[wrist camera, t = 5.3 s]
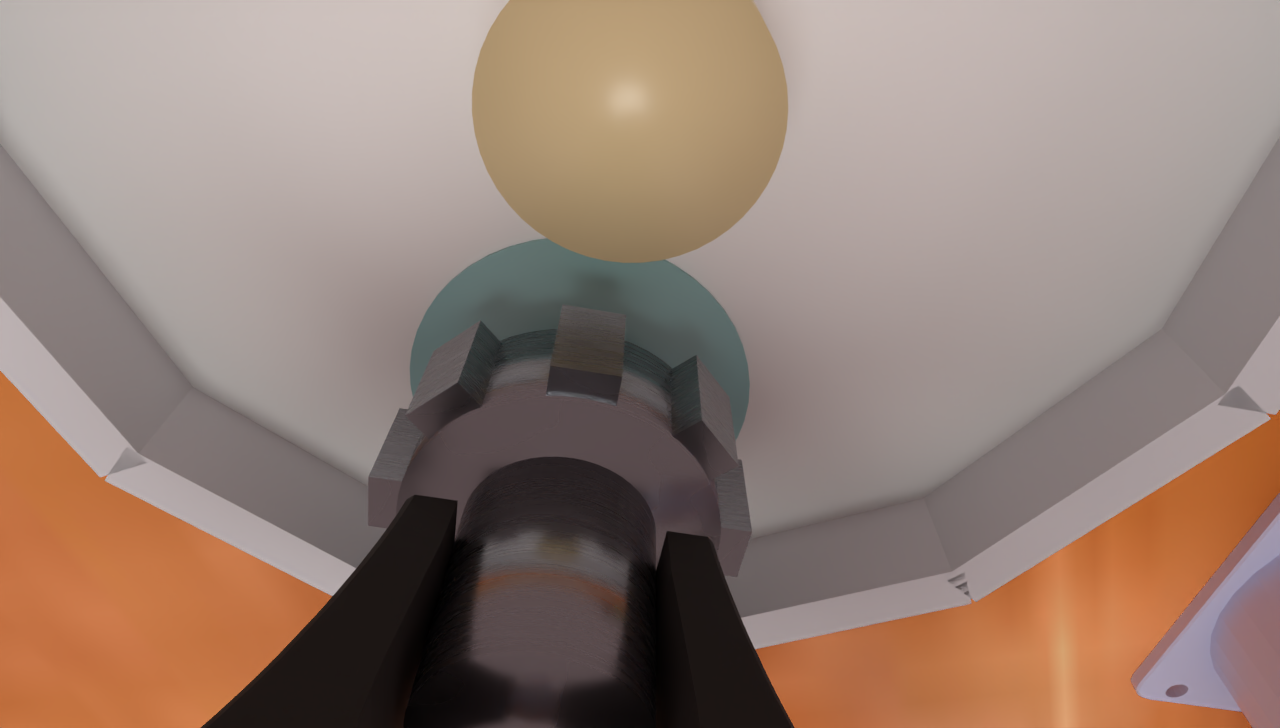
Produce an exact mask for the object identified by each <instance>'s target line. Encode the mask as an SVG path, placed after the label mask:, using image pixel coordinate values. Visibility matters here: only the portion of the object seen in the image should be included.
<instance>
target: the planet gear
mask: <svg viewBox="0 0 1280 728" xmlns="http://www.w3.org/2000/svg"><path fill="white" fill-rule="evenodd" d="M625 324H626V315H625V314H619V313H612V312H606V311H600V310H594V309H588V308H582V307H576V306H569V305H562V310H561V315H560V319H559V324H558V329H548V330H540V331H533V332H527V333H523V334H519V335H515V336H511V337H508V338H506V339H503V340H501V341H499V340H498V339H497V338H496V336H495V335H494V334H493V333H492V332H491V331H490V330H489V329H488V328H487V327H486V325H485V324H484V323H483V322H482V321H481V320H480V321H479V322H477V323H476V324H474V325H472V326H471V327H469V328H468V329H466V330H465V331H463V332H462V333H460V334H459V335H457V336H456V337H454V338H453V339H451V340H450V341H448V342H447V343H445V344H443V345H442V346H440V347H439V348H437V349H436V350H434V351H433V353H432V356H431V358H430V360H429V362H428V365H427V367H426V369H425V371H424V374H423V376H422V378H421V381H420V383H419V385H418V387H417V390H416V392H415V394H414V396H413V399H412V401H411V403H410V405H409V408H408V409H402V408H399V411H398V413H397V415H396V417H395V419H394V422H393V424H392V426H391V428H390V430H389V433H388V435H387V437H386V439H385V441H384V443H383V446H382V448H381V450H380V452H379V454H378V457H377V459H376V461H375V463H374V465H373V468H372V470H371V472H370V474H369V476H368V526H373V527H380V528H388V526H389V525H390V524H391V522H392V521H393V519H394V518H395V516H396V515H397V513H398V512H399V510H400V509H401V507H402V506H403V504H404V503H405V501H406V499H408V498H410V497H411V496H413V495H422V496H429V497H436V498H443V499H449V500H456V501H458V504H457V517H456V530H455V543H454V546H453V550H452V553H451V557H450V560H449V564H448V567H447V571H446V574H445V577H444V581H443V584H442V588H441V591H440V595H439V598H438V601H437V604H436V608H435V611H434V614H433V618H432V621H431V625H430V628H429V631H428V635H427V638H426V642H425V645H424V649H423V652H422V656H421V659H420V663H419V666H418V670H417V673H416V676H415V680H414V683H413V687H412V690H411V694H410V697H409V701H408V704H407V708H406V711H405V715H404V722H403V727H404V728H656V569H657V566H658V562H659V558H660V554H661V551H662V547H663V543H664V540H665V536H666V532H667V531H671V532H678V533H685V534H692V535H699V536H706V537H709V539H710V540H711V541H712V542H713V544H714V547H715V550H716V553H717V556H718V559H719V562H720V565H721V568H722V571H723V573H724V575H725V576H732V577H737V576H738V573H739V570H740V567H741V564H742V561H743V558H744V555H745V552H746V549H747V546H748V543H749V540H750V537H751V534H752V528H751V521H750V514H749V507H748V500H747V493H746V486H745V479H744V472H743V465H742V460H740V459H738V457H737V450H736V442H735V435H734V428H733V420H732V413H731V406H730V398H729V396H728V395H727V394H726V392H725V391H724V390H723V388H722V387H721V386H720V385H719V383H718V382H717V381H716V379H715V378H714V377H713V375H712V374H711V373H710V372H709V370H708V369H707V368H706V366H705V365H704V364H703V362H702V361H701V360H700V359H699V357H698V356H697V355H695V356H693V357H692V358H690V359H688V360H686V361H685V362H683V363H681V364H679V365H678V366H676V367H674V368H671V367H670V366H669V365H668V364H667V363H665V362H664V361H663V360H661V359H660V358H658V357H657V356H655V355H653V354H652V353H650V352H649V351H647V350H645V349H643V348H641V347H639V346H637V345H635V344H633V343H631V342H628V341H625Z"/></svg>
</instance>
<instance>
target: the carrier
mask: <svg viewBox="0 0 1280 728" xmlns="http://www.w3.org/2000/svg"><path fill="white" fill-rule="evenodd" d="M562 305H569V306H576V307H582V308H588V309H594V310H600V311H606V312H612V313H619V314H625V315H626V324H625V341H628V342H631V343H633V344H635V345H637V346H639V347H641V348H643V349H645V350H647V351H649V352H650V353H652V354H653V355H655V356H657V357H658V358H660V359H661V360H663V361H664V362H665V363H667V364H668V365H669V366H670V367H671V368H674V367H676V366H678V365H679V364H681V363H683V362H685V361H686V360H688V359H690V358H692V357H693V356H695V355H697V356H698V357H699V359H700V360H701V361H702V362H703V364H704V365H705V366H706V368H707V369H708V370H709V372H710V373H711V374H712V375H713V377H714V378H715V379H716V381H717V382H718V383H719V385H720V386H721V387H722V388H723V390H724V391H725V392H726V394H727V395H728V396H729V398H730V406H731V413H732V420H733V428H734V435H735V442H736V450H737V457H738V459H740V460H742V465H743V472H744V479H745V486H746V493H747V500H748V507H749V514H750V521H751V528H752V534H751V537H750V540H749V543H748V546H747V549H746V552H745V555H744V558H743V561H742V564H741V567H740V570H739V573H738V576H737V577H732V576H725V575H724V576H725V579H726V582H727V584H728V587H729V589H730V592H731V595H732V597H733V600H734V602H735V604H736V607H737V609H738V612H739V614H740V617H741V619H742V621H743V624H744V626H745V628H746V631H747V633H748V635H749V637H750V640H751V642H752V644H753V646H754V648H755V649H758V648H763V647H768V646H772V645H777V644H782V643H787V642H791V641H796V640H801V639H806V638H811V637H815V636H820V635H825V634H830V633H834V632H839V631H844V630H849V629H853V628H858V627H863V626H868V625H872V624H877V623H882V622H887V621H891V620H896V619H901V618H906V617H910V616H915V615H920V614H925V613H929V612H934V611H939V610H944V609H948V608H953V607H958V606H963V605H967V604H971V599H973V600H974V601H976V602H977V601H978V600H980V599H981V598H983V597H985V596H986V595H988V594H990V593H991V592H993V591H994V590H996V589H998V588H999V587H1001V586H1002V585H1004V584H1006V583H1007V582H1009V581H1010V580H1012V579H1014V578H1015V577H1017V576H1019V575H1020V574H1022V573H1023V572H1025V571H1027V570H1028V569H1030V568H1031V567H1033V566H1035V565H1036V564H1038V563H1039V562H1041V561H1043V560H1044V559H1046V558H1048V557H1049V556H1051V555H1052V554H1054V553H1056V552H1057V551H1059V550H1060V549H1062V548H1064V547H1065V546H1067V545H1068V544H1070V543H1072V542H1073V541H1075V540H1077V539H1078V538H1080V537H1081V536H1083V535H1085V534H1086V533H1088V532H1089V531H1091V530H1093V529H1094V528H1096V527H1097V526H1099V525H1101V524H1102V523H1104V522H1106V521H1107V520H1109V519H1110V518H1112V517H1114V516H1115V515H1117V514H1118V513H1120V512H1122V511H1123V510H1125V509H1126V508H1128V507H1130V506H1131V505H1133V504H1135V503H1136V502H1138V501H1139V500H1141V499H1143V498H1144V497H1146V496H1147V495H1149V494H1151V493H1152V492H1154V491H1155V490H1157V489H1159V488H1160V487H1162V486H1164V485H1165V484H1167V483H1168V482H1170V481H1172V480H1173V479H1175V478H1176V477H1178V476H1180V475H1181V474H1183V473H1184V472H1186V471H1188V470H1189V469H1191V468H1193V467H1194V466H1196V465H1197V464H1199V463H1201V462H1202V461H1204V460H1205V459H1207V458H1209V457H1210V456H1212V455H1214V454H1215V453H1217V452H1218V451H1220V450H1222V449H1223V448H1225V447H1226V446H1228V445H1230V444H1231V443H1233V442H1234V441H1236V440H1238V439H1239V438H1241V437H1243V436H1244V435H1246V434H1247V433H1249V432H1251V431H1252V430H1254V429H1255V428H1257V427H1259V426H1260V425H1262V424H1263V423H1265V422H1267V421H1268V420H1270V419H1271V418H1270V417H1269V416H1268V415H1267V414H1266V413H1269V414H1275V415H1276V414H1277V412H1278V411H1279V410H1280V0H0V371H1V372H2V373H3V374H4V375H5V376H6V377H7V378H8V379H9V380H10V381H11V382H12V383H13V384H14V386H15V387H16V388H17V389H18V390H19V391H20V392H21V393H22V394H23V395H24V396H25V397H26V398H27V399H28V401H29V402H30V403H31V404H32V405H33V406H34V407H35V408H36V409H37V410H38V411H39V412H40V413H41V415H42V416H43V417H44V418H45V419H46V420H47V421H48V422H49V423H50V424H51V425H52V426H53V427H54V428H55V430H56V431H57V432H58V433H59V434H60V435H61V436H62V437H63V438H64V439H65V440H66V441H67V442H68V443H69V445H70V446H71V447H72V448H73V449H74V450H75V451H76V452H77V453H78V454H79V455H80V456H81V457H82V458H83V460H84V461H85V462H86V463H87V464H88V465H89V466H90V467H91V468H92V469H93V470H94V471H95V472H96V473H97V475H98V476H99V477H103V476H106V475H108V476H107V477H106V479H105V481H106V482H108V483H110V484H112V485H114V486H116V487H118V488H120V489H122V490H124V491H126V492H128V493H130V494H132V495H134V496H136V497H138V498H140V499H142V500H144V501H146V502H148V503H150V504H152V505H154V506H156V507H158V508H160V509H162V510H163V511H165V512H167V513H169V514H171V515H173V516H175V517H177V518H179V519H181V520H183V521H185V522H187V523H189V524H191V525H193V526H195V527H197V528H199V529H201V530H203V531H205V532H207V533H209V534H211V535H213V536H215V537H217V538H219V539H221V540H223V541H225V542H227V543H228V544H230V545H232V546H234V547H236V548H238V549H240V550H242V551H244V552H246V553H248V554H250V555H252V556H254V557H256V558H258V559H260V560H262V561H264V562H266V563H268V564H270V565H272V566H274V567H276V568H278V569H280V570H282V571H284V572H286V573H288V574H290V575H292V576H294V577H295V578H297V579H299V580H301V581H303V582H305V583H307V584H309V585H311V586H313V587H315V588H317V589H319V590H321V591H323V592H325V593H327V594H329V595H331V596H333V595H334V594H335V593H336V592H337V591H338V589H339V588H340V587H341V586H342V585H343V583H344V582H345V581H346V580H347V579H348V578H349V576H350V575H351V574H352V573H353V572H354V571H355V569H356V568H357V567H358V566H359V564H360V563H361V562H362V561H363V559H364V558H365V557H366V556H367V554H368V553H369V552H370V550H371V549H372V548H373V547H374V545H375V544H376V543H377V541H378V540H379V539H380V537H381V536H382V535H383V533H384V532H385V531H386V529H387V528H380V527H373V526H368V476H369V474H370V472H371V470H372V468H373V465H374V463H375V461H376V459H377V457H378V454H379V452H380V450H381V448H382V446H383V443H384V441H385V439H386V437H387V435H388V433H389V430H390V428H391V426H392V424H393V422H394V419H395V417H396V415H397V413H398V411H399V408H402V409H408V408H409V405H410V403H411V401H412V399H413V396H414V394H415V392H416V390H417V387H418V385H419V383H420V381H421V378H422V376H423V374H424V371H425V369H426V367H427V365H428V362H429V360H430V358H431V356H432V353H433V351H434V350H436V349H437V348H439V347H440V346H442V345H443V344H445V343H447V342H448V341H450V340H451V339H453V338H454V337H456V336H457V335H459V334H460V333H462V332H463V331H465V330H466V329H468V328H469V327H471V326H472V325H474V324H476V323H477V322H479V321H480V320H481V321H482V322H483V323H484V324H485V325H486V327H487V328H488V329H489V330H490V331H491V332H492V333H493V334H494V335H495V336H496V338H497V339H498V340H499V341H501V340H503V339H506V338H508V337H511V336H515V335H519V334H523V333H527V332H533V331H540V330H548V329H558V324H559V319H560V315H561V310H562ZM970 598H971V599H970Z"/></svg>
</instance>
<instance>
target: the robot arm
mask: <svg viewBox="0 0 1280 728" xmlns="http://www.w3.org/2000/svg"><path fill="white" fill-rule="evenodd" d="M457 504H458V501H456V500H449V499H443V498H436V497H429V496H422V495H413V496H411V497H410V498H408V499H406V501H405V503H404V504H403V506H402V507H401V509H400V510H399V512H398V513H397V515H396V516H395V518H394V519H393V521H392V522H391V524H390V525H389V526H388V528H387V529H386V531H385V532H384V533H383V535H382V536H381V537H380V539H379V540H378V541H377V543H376V544H375V545H374V547H373V548H372V549H371V550H370V552H369V553H368V554H367V556H366V557H365V558H364V559H363V561H362V562H361V563H360V564H359V566H358V567H357V568H356V569H355V571H354V572H353V573H352V574H351V575H350V576H349V578H348V579H347V580H346V581H345V582H344V583H343V585H342V586H341V587H340V588H339V589H338V591H337V592H336V593H335V594H334V595H333V596H332V598H331V599H330V600H329V601H328V602H327V604H326V605H325V606H324V607H323V608H322V609H321V610H320V611H319V612H318V614H317V615H316V616H315V617H314V618H313V619H312V620H311V621H310V622H309V623H308V624H307V625H306V626H305V627H304V628H303V630H302V631H301V632H300V633H299V634H298V635H297V636H296V637H295V638H294V639H293V640H292V641H291V642H290V643H289V644H288V645H287V646H286V647H285V649H284V650H283V651H282V652H281V653H280V654H279V655H278V656H277V657H276V658H275V659H274V660H273V661H272V662H271V663H270V664H269V665H268V666H267V667H266V668H265V669H264V670H263V671H262V672H261V673H260V674H259V675H258V676H257V677H256V678H255V679H254V680H253V681H252V682H250V683H249V684H248V685H247V686H246V687H245V688H244V689H243V690H242V691H241V692H240V693H239V694H238V695H237V696H236V697H234V698H233V699H232V700H231V701H230V702H229V703H228V704H227V705H226V706H225V707H223V708H222V709H221V710H220V711H219V712H218V713H217V714H216V715H215V716H214V717H212V718H211V719H210V720H209V721H208V722H207V723H206V724H204V725H203V726H202V727H201V728H404V727H403V722H404V715H405V711H406V708H407V704H408V701H409V697H410V694H411V690H412V687H413V683H414V680H415V676H416V673H417V670H418V666H419V663H420V659H421V656H422V652H423V649H424V645H425V642H426V638H427V635H428V631H429V628H430V625H431V621H432V618H433V614H434V611H435V608H436V604H437V601H438V598H439V595H440V591H441V588H442V584H443V581H444V577H445V574H446V571H447V567H448V564H449V560H450V557H451V553H452V550H453V546H454V543H455V530H456V517H457ZM1131 683H1132V685H1133V687H1134V689H1135V691H1136V692H1137V694H1138V695H1139V696H1141V697H1143V698H1146V699H1151V700H1158V701H1166V702H1173V703H1180V704H1188V705H1195V706H1203V707H1210V708H1218V709H1225V710H1232V711H1240V712H1243V714H1244V715H1245V717H1246V719H1247V720H1248V722H1249V723H1250V725H1251V726H1252V728H1280V493H1279V494H1278V495H1277V496H1276V498H1275V499H1274V500H1273V501H1272V503H1271V504H1270V505H1269V506H1268V508H1267V509H1266V510H1265V511H1264V513H1263V514H1262V515H1261V516H1260V517H1259V519H1258V520H1257V521H1256V522H1255V524H1254V525H1253V526H1252V527H1251V529H1250V530H1249V531H1248V532H1247V534H1246V535H1245V536H1244V537H1243V539H1242V540H1241V541H1240V542H1239V544H1238V545H1237V546H1236V547H1235V548H1234V550H1233V551H1232V552H1231V553H1230V555H1229V556H1228V557H1227V558H1226V560H1225V561H1224V562H1223V563H1222V565H1221V566H1220V567H1219V568H1218V570H1217V571H1216V572H1215V573H1214V575H1213V576H1212V577H1211V578H1210V579H1209V581H1208V582H1207V583H1206V584H1205V586H1204V587H1203V588H1202V589H1201V591H1200V592H1199V593H1198V594H1197V596H1196V597H1195V598H1194V599H1193V601H1192V602H1191V603H1190V604H1189V606H1188V607H1187V608H1186V609H1185V610H1184V612H1183V613H1182V614H1181V615H1180V617H1179V618H1178V619H1177V620H1176V622H1175V623H1174V624H1173V625H1172V627H1171V628H1170V629H1169V630H1168V632H1167V633H1166V634H1165V635H1164V637H1163V638H1162V639H1161V640H1160V641H1159V643H1158V644H1157V645H1156V646H1155V648H1154V649H1153V650H1152V651H1151V653H1150V654H1149V655H1148V656H1147V658H1146V659H1145V660H1144V661H1143V663H1142V664H1141V665H1140V666H1139V668H1138V669H1137V670H1136V671H1135V672H1134V674H1133V675H1132V678H1131ZM656 728H794V726H793V724H792V722H791V720H790V719H789V717H788V715H787V713H786V711H785V709H784V707H783V706H782V704H781V702H780V700H779V698H778V696H777V694H776V692H775V690H774V688H773V686H772V684H771V682H770V680H769V678H768V676H767V674H766V672H765V670H764V668H763V665H762V663H761V661H760V659H759V657H758V655H757V653H756V650H755V648H754V646H753V644H752V642H751V640H750V637H749V635H748V633H747V631H746V628H745V626H744V624H743V621H742V619H741V617H740V614H739V612H738V609H737V607H736V604H735V602H734V600H733V597H732V595H731V592H730V589H729V587H728V584H727V582H726V579H725V576H724V573H723V571H722V568H721V565H720V562H719V559H718V556H717V553H716V550H715V547H714V544H713V542H712V541H711V540H710V539H709V537H706V536H699V535H692V534H685V533H678V532H671V531H667V532H666V536H665V540H664V543H663V547H662V551H661V554H660V558H659V562H658V566H657V569H656Z"/></svg>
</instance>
